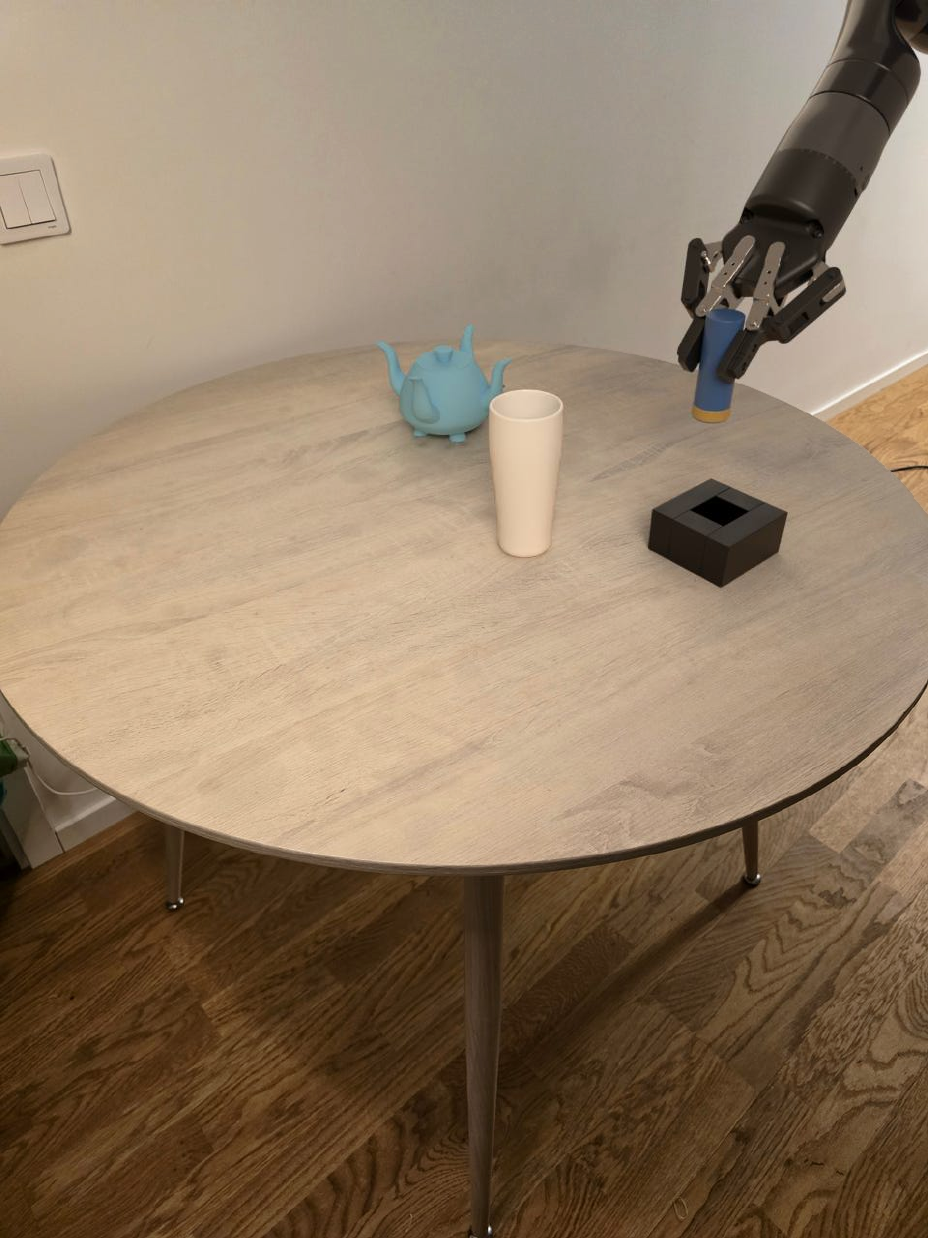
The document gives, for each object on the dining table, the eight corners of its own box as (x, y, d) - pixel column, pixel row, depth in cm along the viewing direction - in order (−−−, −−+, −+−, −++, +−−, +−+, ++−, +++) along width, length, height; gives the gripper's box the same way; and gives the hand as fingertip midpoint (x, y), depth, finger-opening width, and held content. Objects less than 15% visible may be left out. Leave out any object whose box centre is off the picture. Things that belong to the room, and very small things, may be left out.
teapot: (414, 460, 101) (407, 377, 95) (380, 415, 111) (372, 337, 104) (514, 438, 104) (515, 357, 98) (474, 396, 114) (472, 320, 108)
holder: (778, 551, 84) (788, 512, 81) (721, 588, 79) (729, 547, 77) (704, 516, 89) (711, 477, 86) (647, 548, 85) (651, 509, 82)
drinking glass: (523, 572, 82) (525, 428, 73) (476, 544, 86) (472, 404, 77) (572, 545, 86) (580, 403, 76) (524, 519, 90) (526, 382, 81)
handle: (735, 422, 72) (753, 319, 66) (699, 425, 71) (714, 323, 66) (720, 406, 74) (737, 306, 69) (685, 409, 74) (699, 309, 68)
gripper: (723, 133, 69) (615, 328, 70) (897, 155, 60) (771, 375, 62) (748, 194, 75) (648, 371, 76) (909, 220, 67) (794, 419, 68)
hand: (704, 372), depth 69 cm, fingers closed on handle, 3 cm apart
